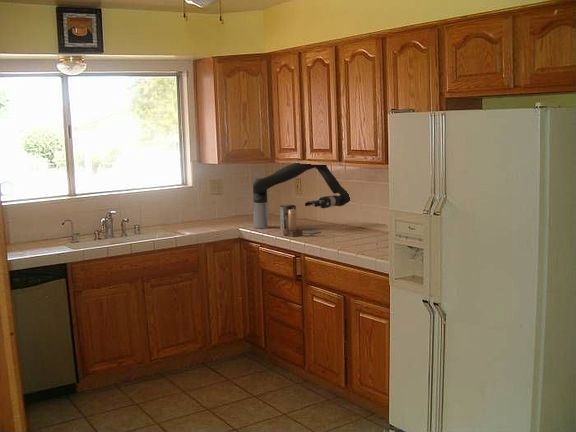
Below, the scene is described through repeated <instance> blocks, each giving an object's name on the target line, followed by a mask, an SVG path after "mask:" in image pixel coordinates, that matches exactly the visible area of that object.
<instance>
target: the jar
mask: <svg viewBox="0 0 576 432" xmlns="http://www.w3.org/2000/svg"><path fill="white" fill-rule="evenodd" d="M288 220H289V231H291V232H294V231H297V230H298V229H297V228H298V224H297V223H298V222H297V220H298V219H297V209H296V210H295V209H291V210H288Z"/></svg>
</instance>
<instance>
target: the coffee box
mask: <svg viewBox="0 0 576 432" xmlns="http://www.w3.org/2000/svg"><path fill="white" fill-rule="evenodd" d="M296 208H297V206H296V205H294V204H286V205H279V218H280V219H279V220H280V230H281V231H285V230H289V220H288V210H291V209H295V210H296V211H297V209H296Z"/></svg>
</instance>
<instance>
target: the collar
mask: <svg viewBox="0 0 576 432" xmlns="http://www.w3.org/2000/svg"><path fill="white" fill-rule="evenodd" d="M282 231H283V230H282ZM302 232H303V229H297V231H294V232H291V231H289V230H285V231H283V236H284V237H290V238H295V237H300V236H303V233H302Z"/></svg>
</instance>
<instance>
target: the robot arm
mask: <svg viewBox="0 0 576 432" xmlns="http://www.w3.org/2000/svg"><path fill="white" fill-rule="evenodd" d="M314 168H315V169H316V170H317V171H318V172H319V174H320V175H321V177H322V178H323V180H324V181H325V183H326V184H327V186H328V188H329V189H330V191H331V192H332V193H333V194H334V195H327V196H321V197H319V199H316V200H310V201H309V200H308V201H306V202H304V206H305V207H310V206H311V207H315V208H317V207H320V209H327V208H333V207H343V206H345V205H346V204H348V203H349V201H350V202H351V200H350V197H349V194H350V193H349V192H348V191H347V190H346V189H345V188H344V187H342V186H341V184H340V182H339V180H338V179H337V178H336V176H335V175H334V174H333V173H332V172H331V171H330V169H329V168H328V166H327V164H326V165H311V164H300V163H296V162H294V163H291V164H289V165H288V164H287V165H286V166H284V167H281V168H280V169H277V171H275V172H274V173H272V174H270V175H268V176H265V177H259V178H255V179H254V181H253V183H252V194H253V196H252V198H253V214H252V217H253V219H252V220H253V221H252V222H253V228H255V229H268V228H269V212H268V209H269V208H268V189H270V188H272V187H275V186H277V185H279V184H282V183H285V182H288V181H290V180H293V179H295V178H297V177H298V176H301V175H302V174H303V173H305V172H306V171H309V170H312V169H314ZM347 192H348V193H349V194H348V193H347ZM335 194H336V195H335ZM337 194H339V195H337Z"/></svg>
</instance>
